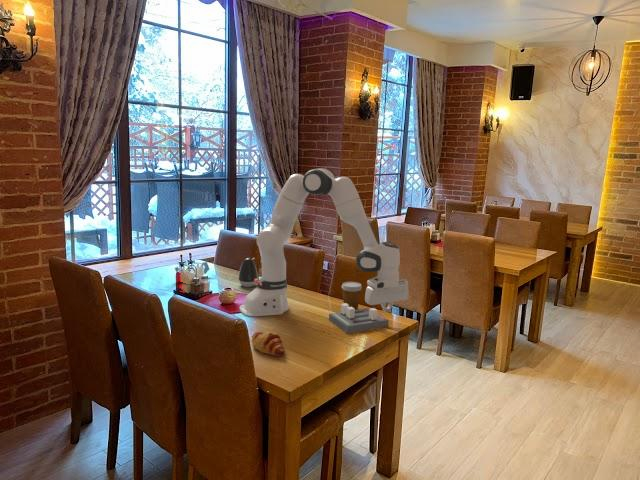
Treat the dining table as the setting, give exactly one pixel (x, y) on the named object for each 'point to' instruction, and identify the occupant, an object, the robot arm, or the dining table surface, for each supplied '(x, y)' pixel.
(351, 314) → the breaker middle
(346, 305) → the breaker back
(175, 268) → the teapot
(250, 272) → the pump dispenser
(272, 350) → the croissant
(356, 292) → the disposable coffee cup
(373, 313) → the breaker front
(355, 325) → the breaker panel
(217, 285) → the dining table surface
